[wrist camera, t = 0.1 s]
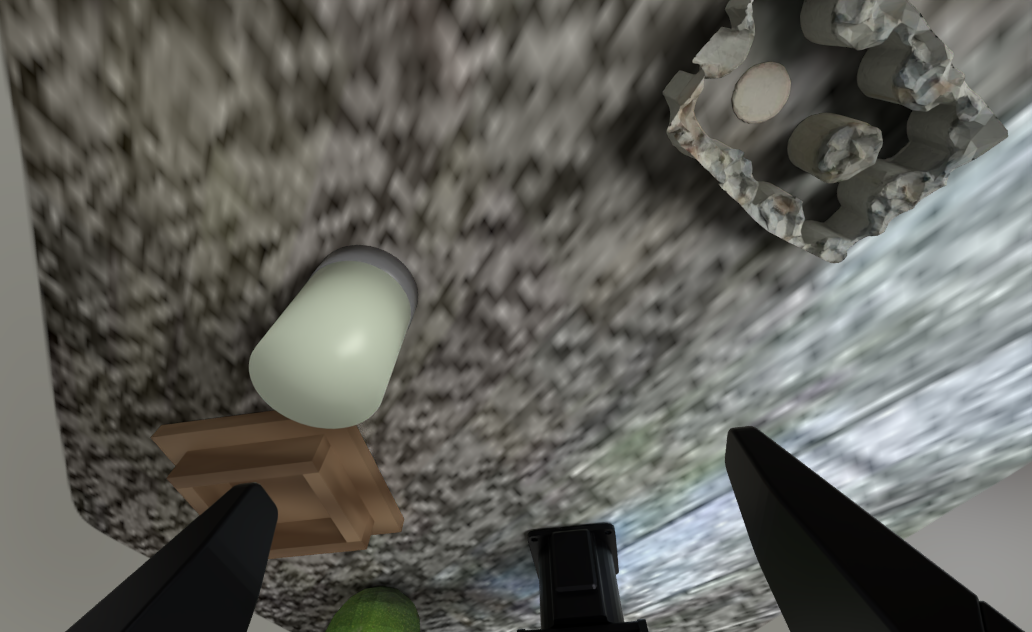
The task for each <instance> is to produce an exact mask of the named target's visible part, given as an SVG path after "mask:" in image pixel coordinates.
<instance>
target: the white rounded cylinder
mask: <svg viewBox="0 0 1032 632" xmlns="http://www.w3.org/2000/svg"><path fill="white" fill-rule="evenodd" d="M417 302H418V289H417V286H416V282H415V280H414V278H413V276H412V274H411V273H410V271H409V270H408V269H407V267H406V266H405V265H404V264H403V263H402V262H401V261H400V260H398V259H397V258H396V257H394V256H393V255H391V254H390V253H388V252H386V251H384V250H381V249H378V248H375V247H371V246H365V245H352V246H346V247H343V248H340V249H337V250H336V251H334V252H332V253H331V254H329V255H328V256H327V257H326V258H325V259H324V260H323V262H322V263H321V264H320V265H319V267H318V268H317V269H316V270H315V271H314V273H313V274H312V275H311V277H310V278H309V280H308V282H307V283H306V285H305V286H304V287H303V288H302V290H301V291H300V292H299V293H298V295H297V296H296V297H295V298H294V300H293V301H292V302H291V303H290V304H289V306H288V307H287V308H286V309H285V311H284V312H283V313H282V314H281V316H280V317H279V318H278V319H277V321H276V322H275V323H274V324H273V326H272V327H271V328H270V329H269V331H268V332H267V333H266V334H265V336H264V337H263V338H262V339H261V341H260V342H259V343H258V344H257V346H256V347H255V349H254V350H253V352H252V354H251V357H250V361H249V373H250V378H251V381H252V383H253V385H254V387H255V389H256V391H257V392H258V394H259V395H260V396H261V398H262V399H263V400H264V401H265V402H266V403H267V404H268V405H269V406H271V407H272V408H273V409H274V410H276V411H277V412H279V413H280V414H282V415H284V416H285V417H287V418H289V419H291V420H293V421H296V422H299V423H301V424H305V425H308V426H312V427H317V428H326V429H337V428H345V427H350V426H354V425H357V424H359V423H362V422H364V421H365V420H367V419H368V418H370V417H371V416H372V415H373V414H374V413H375V412H376V411H377V410H378V408H379V406H380V405H381V402H382V399H383V397H384V394H385V391H386V388H387V385H388V383H389V380H390V377H391V374H392V371H393V368H394V366H395V363H396V360H397V357H398V354H399V352H400V349H401V346H402V343H403V340H404V338H405V335H406V332H407V330H408V329H409V326H410V324H411V321H412V318H413V315H414V312H415V310H416V307H417Z"/></svg>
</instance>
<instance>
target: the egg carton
mask: <svg viewBox="0 0 1032 632" xmlns="http://www.w3.org/2000/svg"><path fill="white" fill-rule="evenodd" d="M752 2H753V0H730V1H729V2H728V4H727V6H726V8H725V11H726V12H727V14H728V16H729V18H730V22H731V25H732V28H726V27H721V28H720V29H719V30H718V31H717V32H716V33H715V34H714V35H713V37H712V38H711V39H710V40H709V41H708V42H707V43H706V45H705V46H704V47H703V48H702V49H701V50H700V52H699V53H698V54H697V55H696V56H695V57H694V59H693V63H696V64H699V72H698V73H697V74H690V73H687V72H684V71H680V70H679V71H678V72H677V73H676V75H675V76H674V77H673V78H672V80H671V81H670V82H669V84H668V85H667V86H666V87H665V89H664V90H663V95H664V97H665V98H666V101H667V103H668V105H669V108H670V123H669V126H668V128H667V130H666V133H667V136H668V138H669V139H670V140H671V142H672V145H673V146H675V147H676V148H677V149H678V150H679V151H680V152H681V153H683V154H684V155H685V156H686V155H688V156H690V157H691V158H694V159H697V160H698V161H699V162H700V164H701V165H702V166H703V167H704V168H706V169H707V170H708V171H709V172H710V173H711V174H712V175H713V176H714V177H715V178H716V179H717V180H718V181H719V182H720V184H719V185H720V187H721V188H722V189H723V190H725V191H726V192H727V193H728V194H729V195H730V196H731V197H732V198H733V199H735V200H736V201H737V202H738V203H739V204H740V205H741V206H742V207H743V208H744V209H745V211H746V212H747V213H748V214H749V215H750V216H751V217H752V218H753V219H754V220H755V221H756V222H757V223H759V224H760V225H761V226H762V227H764V228H765V229H766V230H767V231H768V232H770V233H772V234H774V235H776V236H778V237H780V238H781V239H783V240H785V241H787V242H789V243H792V244H794V245H796V246H798V247H800V248H802V249H804V250H806V251H807V252H809V253H812V254H814V255H816V256H818V257H820V258H822V259H824V260H826V261H828V262H830V263H839V262H841V261H843V260H844V259H845V258H846V257H847V250H848V248H850V247H851V246H852V245H853V244H855V243H856V242H857V241H859V240H861V239H863V238H865V237H867V236H878V235H880V234H881V233H883V232H885V230H886V228H887V225H888V223H889V222H890V221H891V220H892V219H893V218H894V217H896V216H898V215H899V214H901V213H903V212H906V211H908V210H911V209H913V208H914V207H915V205H916V204H917V203H918V202H919V201H920V200H921V199H923V198H924V197H926V196H928V195H929V194H931V193H933V192H934V191H936V190H938V189H939V188H941V187H943V186H946V184H947V179H948V177H949V175H950V173H951V172H952V171H953V170H954V169H956V168H958V167H960V166H962V165H964V164H966V163H969V162H971V161H972V160H974V159H976V158H977V157H979V156H981V155H982V154H984V153H985V152H987V151H988V150H990V149H991V148H993V147H994V146H996V145H997V144H998V143H1000V142H1001V141H1003V140H1004V139H1006V138H1007V137H1008V130H1007V129H1006V128H1005V127H1004V126H1003V124H1002V123H1001V122H1000V121H999V120H998V118H997V117H996V116H995V115H994V113H993V112H992V111H991V110H990V109H989V107H988V106H987V105H986V104H985V102H984V101H983V100H982V98H981V97H980V96H979V95H977V94H976V93H975V92H973V91H972V90H971V89H970V88H969V87H968V85H967V84H966V83H965V82H964V79H965V74H964V73H963V72H961V71H960V70H958V69H956V68H954V67H953V65H952V62H951V60H952V59H953V56H954V53H953V52H952V51H951V50H950V49H949V48H948V47H947V46H946V45H945V44H944V43H943V42H942V41H941V40H940V39H939V38H938V37H937V36H936V35H935V34H934V33H933V31H932V30H931V29H930V27H929V26H928V24H927V23H926V21H925V20H924V18H923V16H922V15H921V13H920V12H919V11H918V10H917V9H916V8H915V7H914V6H913V5H912V4H911V3H910V2H909V1H908V0H804V3H803V6H802V10H801V14H800V24H801V29H802V31H803V34H804V36H805V38H807V39H808V40H810V41H811V42H813V43H817V44H820V45H830V46H841V47H849V48H854V49H856V50H863V49H865V48H869V49H868V51H867V52H866V54H865V55H864V57H863V58H862V61H861V63H860V65H859V69H858V73H857V84H858V86H859V88H860V90H861V91H862V93H863V94H864V95H866V96H868V97H871V98H875V99H880V100H884V101H888V102H892V103H897V104H901V105H903V106H905V107H907V108H909V109H911V110H913V111H912V112H911V114H910V117H909V119H908V122H907V136H908V139H909V142H908V143H907V145H906V146H905V147H903V148H902V149H901V150H900V151H899V152H898V153H897V154H895V155H894V156H893V157H892V158H887V159H883V160H882V159H877V156H878V153H879V151H880V149H881V147H882V144H883V140H882V133H881V130H879V129H878V128H877V127H873V126H870V125H869V124H868V123H865V122H862V121H859V120H856V119H852V118H849V117H846V116H842V115H838V114H833V113H820V114H816V115H812V116H809V117H808V118H806V119H805V120H804V121H802V122H801V123H800V124H799V125H798V126H797V127H796V129H795V130H794V131H793V133H792V135H791V137H790V138H789V141H788V147H787V151H788V156H789V159H790V161H791V162H792V163H793V164H794V165H795V166H796V167H799V168H800V169H802V170H804V171H806V172H808V173H810V174H812V175H813V176H815V177H817V178H818V179H820V180H821V181H824V182H826V183H835V182H839V185H838V188H837V197H838V200H839V202H840V204H841V207H840V208H839V209H838V210H837V211H836V212H835V213H834V214H833V215H832V216H831V217H830V218H829V219H828V220H826V221H825V222H824V223H823V222H818V221H813V220H805V217H804V213H803V209H802V203H803V201H801V200H800V199H798V198H797V197H794V196H792V195H790V194H788V193H787V192H785V191H784V190H782V189H780V188H779V187H776V186H775V185H773V184H771V183H769V182H764V181H756V180H755V179H754V178H753V176H752V163H751V161H750V160H748V159H746V158H744V157H743V156H744V153H745V152H743V151H741V150H737V149H732V148H730V147H728V146H726V145H725V144H723V143H721V142H720V141H718V140H716V139H711V138H709V136H708V135H707V134H706V133H705V132H704V131H703V129H702V128H701V126H700V125H699V123H698V121H697V120H696V117H695V113H694V107H695V103H696V101H697V98H698V97H699V95H700V93H701V92H702V90H703V87H704V79H711V78H721V77H723V76H726V75H728V74H729V73H731V72H732V71H733V70H734V69H736V68H738V67H739V66H740V65H741V64H742V63H743V62H744V60H745V59H746V57H747V55H748V53H749V50H750V47H751V45H752V42H753V39H754V36H755V23H754V20H753V17H752V13H753V10H752ZM790 89H791V80H790V78H789V75H788V73H787V71H786V69H785V67H784V66H782V65H781V64H779V63H775V62H765V63H761V64H757V65H754V66H753V67H751V68H749V69H748V70H747V71H746V72H745V73H744V74H743V75H742V76H741V77H740V79H739V81H738V82H737V84H736V86H735V90H734V93H733V97H732V103H733V111H734V112H735V114H736V115H737V117H738V118H739V119H741V120H744V122H748V123H761V122H764V121H766V120H768V119H770V118H772V117H774V116H775V115H776V114H777V113H778V112H780V110H781V109H782V107H783V106H784V104H785V103H786V101H787V99H788V97H789V94H790Z"/></svg>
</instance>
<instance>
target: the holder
mask: <svg viewBox="0 0 1032 632" xmlns="http://www.w3.org/2000/svg"><path fill="white" fill-rule="evenodd" d="M151 439H152V440H153V441H154V442H155V443H156V444H157V445H158V447H159V448H160V449H161V450H162V451H163V452H164V453H165V455H166V456H167V457H168V458H169V459H170V460H171V461H172V463H173V464H174V465H175V468H174V469H173V470H172V472H171V473H170V474H169V475H168V477H167V478H166V479H167V480H168V481H169V482H170V483H171V484H172V485H173V486H174V487H175V488H176V490H177V491H178V492H179V493H180V494H181V495H182V496H183V497H184V498H185V499H186V501H187V502H188V503H189V504H190V505H191V506H192V507H193V508H194V509H195V510H196V512H197V513H198V514H199V515H201V514H202V513H203V512H204V511H205V510H207V509H208V508H209V507H210V506H211V505H212V504H213V503H215V502H216V501H217V500H218V499H219V498H220V497H222V496H223V495H224V494H225V493H226V492H227V491H228V490H230V489H231V488H232V487H233V486H235V485H238V484H243V483H252V482H257V483H259V484H260V485H261V486H262V487H263V488H264V489H265V491H266V492H267V493H268V495H269V496H270V498H271V499H272V500H273V502H274V503H275V504H276V506H277V509H278V520H277V524H276V528H275V532H274V536H273V541H272V545H271V549H270V553H269V557H268V559H273V558H283V557H293V556H304V555H314V554H324V553H334V552H344V551H355V550H365V549H367V546H368V543H369V539H370V536H371V535H376V534H386V533H396V532H401V531H402V527H403V522H404V518H403V516H402V514H401V512H400V510H399V508H398V506H397V504H396V502H395V500H394V498H393V496H392V494H391V492H390V490H389V488H388V487H387V485H386V483H385V481H384V479H383V477H382V475H381V473H380V471H379V469H378V467H377V465H376V463H375V461H374V459H373V457H372V455H371V453H370V451H369V449H368V447H367V445H366V443H365V441H364V440H363V438H362V436H361V434H360V432H359V430H358V428H357V426H356V425H354V426H350V427H345V428H337V429H326V428H317V427H312V426H308V425H305V424H301V423H299V422H296V421H293V420H291V419H289V418H287V417H285V416H284V415H282V414H280V413H279V412H277V411H276V410H274V411H266V412H259V413H251V414H243V415H236V416H228V417H220V418H213V419H205V420H197V421H190V422H182V423H174V424H167V425H161V426H160V427H159V428H158V430H157V431H156V432H155V433H154V434H153V435H152V436H151Z"/></svg>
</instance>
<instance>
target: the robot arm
mask: <svg viewBox="0 0 1032 632" xmlns="http://www.w3.org/2000/svg"><path fill="white" fill-rule="evenodd" d="M725 465H726V470H727V473H728V476H729V479H730V482H731V485H732V488H733V491H734V494H735V497H736V500H737V503H738V506H739V509H740V512H741V514H742V517H743V520H744V523H745V526H746V529H747V532H748V535H749V538H750V541H751V544H752V547H753V549H754V552H755V555H756V557H757V560H758V562H759V564H760V567H761V569H762V571H763V573H764V576H765V578H766V580H767V582H768V584H769V586H770V589H771V591H772V593H773V595H774V597H775V599H776V602H777V604H778V606H779V608H780V610H781V612H782V615H783V617H784V619H785V621H786V623H787V625H788V628H789V630H790V632H1025V631H1023V630H1022V629H1020V628H1019V627H1018V626H1016V625H1015V624H1014V623H1013V622H1011V621H1010V620H1009V619H1007V618H1006V617H1005V616H1003V615H1002V614H1001V613H999V612H998V611H997V610H995V609H994V608H993V607H991V606H990V605H989V604H987V603H986V602H984V601H979V599H978V597H977V596H976V595H975V594H974V593H973V592H971V591H970V590H969V589H967V588H966V587H965V586H964V585H962V584H961V583H959V582H958V581H957V580H956V579H954V578H953V577H952V576H950V575H949V574H948V573H946V572H945V571H944V570H942V569H941V568H940V567H938V566H937V565H936V564H935V563H933V562H932V561H930V560H929V559H928V558H927V557H925V556H924V555H923V554H922V553H920V552H919V551H918V550H916V549H915V548H914V547H912V546H911V545H910V544H908V543H907V542H906V541H904V540H903V539H902V538H900V537H899V536H898V535H897V534H895V533H894V532H893V531H891V530H890V529H889V528H887V527H886V526H885V525H883V524H882V523H881V522H879V521H878V520H877V519H876V518H874V517H873V516H872V515H870V514H869V513H868V512H866V511H865V510H864V509H862V508H861V507H860V506H858V505H857V504H856V503H854V502H853V501H852V500H851V499H849V498H848V497H847V496H845V495H844V494H843V493H841V492H840V491H839V490H837V489H836V488H835V487H833V486H832V485H831V484H830V483H828V482H827V481H826V480H824V479H823V478H822V477H820V476H819V475H818V474H816V473H815V472H814V471H812V470H811V469H810V468H808V467H807V466H806V465H805V464H803V463H802V462H801V461H799V460H798V459H797V458H795V457H794V456H793V455H791V454H790V453H789V452H787V451H786V450H785V449H784V448H782V447H781V446H780V445H778V444H777V443H776V442H774V441H773V440H772V439H770V438H769V437H768V436H766V435H765V434H764V433H763V432H761V431H760V430H759V429H757V428H755V427H753V426H745V427H736V428H731V429H730V430H729V431H728V435H727V444H726V453H725ZM277 520H278V509H277V506H276V504H275V503H274V502H273V500H272V499H271V498H270V496H269V495H268V493H267V492H266V491H265V489H264V488H263V487H262V486H261V485H260V484H259V483H257V482H252V483H243V484H238V485H235V486H233V487H232V488H231V489H230V490H228V491H227V492H226V493H225V494H224V495H223V496H222V497H220V498H219V499H218V500H217V501H216V502H215V503H213V504H212V505H211V506H210V507H209V508H208V509H207V510H205V511H204V512H203V513H202V514H201V515H200V516H198V517H197V518H196V519H195V520H194V521H193V522H192V523H190V524H189V525H188V526H187V527H186V528H185V529H183V530H182V531H181V532H180V533H179V534H178V535H176V536H175V537H174V538H173V539H172V540H171V541H170V542H168V543H167V544H166V545H165V546H164V547H163V548H161V549H160V550H159V551H158V552H157V553H156V554H155V555H153V556H152V557H151V558H150V559H149V560H148V561H146V562H145V563H144V564H143V565H142V566H141V567H140V568H138V569H137V570H136V571H135V572H134V573H133V574H131V575H130V576H129V577H128V578H127V579H126V580H125V581H123V582H122V583H121V584H120V585H119V586H118V587H116V588H115V589H114V590H113V591H112V592H111V593H110V594H108V595H107V596H106V597H105V598H104V599H103V600H101V601H100V602H99V603H98V604H97V605H96V606H95V607H93V608H92V609H91V610H90V611H89V612H87V613H86V614H85V615H84V616H83V617H82V618H81V619H79V620H78V621H77V622H76V623H75V624H74V625H73V626H71V627H70V628H69V629H68V630H67V631H65V632H247V629H248V626H249V624H250V621H251V618H252V615H253V612H254V609H255V606H256V603H257V600H258V596H259V592H260V589H261V585H262V581H263V577H264V573H265V569H266V565H267V561H268V557H269V553H270V549H271V545H272V541H273V536H274V532H275V528H276V524H277ZM528 542H529V546H530V550H531V553H532V557H533V561H534V564H535V568H536V571H537V575H538V579H539V590H540V616H541V629H537V630H525V629H518V630H517V632H648V628H647V624H646V620H645V619H637V621H633V622H624V618H623V613H622V607H621V601H620V596H619V590H618V585H617V579H616V574H618V573H619V568H618V557H617V546H616V535H615V528H614V525H612V524H599V525H589V526H579V527H569V528H558V529H548V530H538V531H531V532H529V533H528Z"/></svg>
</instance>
